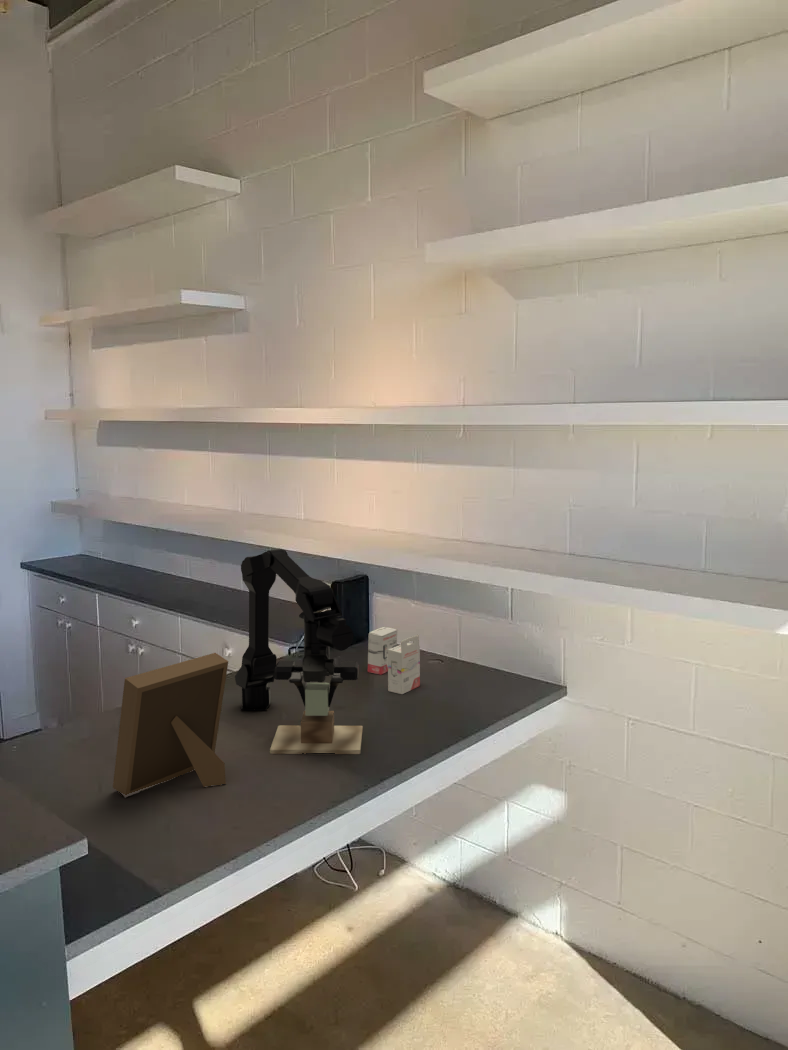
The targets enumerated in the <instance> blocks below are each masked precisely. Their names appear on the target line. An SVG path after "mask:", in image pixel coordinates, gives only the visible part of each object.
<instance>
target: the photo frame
mask: <svg viewBox="0 0 788 1050" xmlns="http://www.w3.org/2000/svg"><path fill="white" fill-rule="evenodd" d="M228 667H229V661H228V660H227V659H226V658H224V657H222V656H221V655H219V654H218V653H217V652H213V653H210V654H205V655H202V656H198V657H196V658H192V659H188V660H184V661H181V662H177V663H174V664H170V665H166V666H163V667H160V668H156V669H152V670H149V671H146V672H142V673H137V674H135V675H130V676H128V677H125V678H124V682H123V684H124V685H123V692H122V701H121V710H120V719H119V726H118V727H119V729H118V737H117V743H116V744H117V747H116V755H115V764H114V774H113V783H112V788H113V789H114V790H115V789H116V790H117V791H119V792H121V793H123V794H125V795H127V794H129V793H132V792H135V791H138V790H140V789H143V788H146V787H149V786H152V785H155V784H158V783H161V782H164V781H167V780H169V781H171V780H170V779H172V778H174V777H177V778H179V777H181V776H180V775H182V776H184V775H186V774H185V773H187V772H189V773H191V772H193V771H192V770H194V769H195V770H194V771H195V772H196V775H197V776H198V779H199V781H200V782H201V785H202V787H203V788H204V787H205V786H211V785H220V786H222V785H221V784H226V785H227V782H226V781H227V779H226V767H225V766H226V765H225V762H224V761H223V760H222V759H221V758H220V757H219V756H218V755H217V754H216V753H215V752H216V747H217V739H218V734H219V727H220V720H221V714H222V713H221V712H222V706H223V700H224V699H223V698H224V695H225V687H226V686H225V685H226V680H227V673H228ZM190 771H191V772H190ZM183 774H184V775H183ZM187 774H188V773H187ZM178 776H179V777H178ZM174 779H175V778H174ZM172 780H173V779H172ZM167 782H168V781H167ZM164 783H165V782H164ZM116 790H115V791H116ZM117 791H116V792H117ZM119 792H118V793H119Z"/></svg>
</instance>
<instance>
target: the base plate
mask: <svg viewBox="0 0 788 1050" xmlns="http://www.w3.org/2000/svg"><path fill="white" fill-rule="evenodd" d="M363 728H364V727H363V725H335V710H329V712H328V716H305V710H303V713H302V716H301V719H300V725H290V724H289V725H286V724H285V725H277V729H276V730H275V731H276V732H275V735H274V737H273V739H272V742H271V745H270V746H271V747H269V754H270V755H307V754H306V753H335V754H334V755H361V749H362V742H363V741H362V738H363V730H364V729H363ZM302 753H304V754H302Z"/></svg>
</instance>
